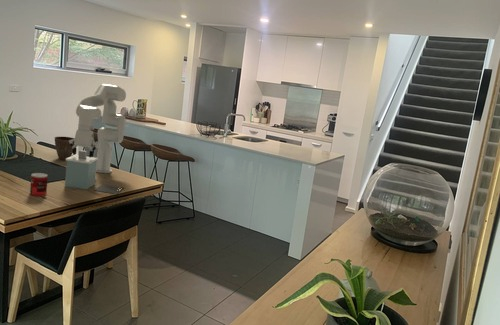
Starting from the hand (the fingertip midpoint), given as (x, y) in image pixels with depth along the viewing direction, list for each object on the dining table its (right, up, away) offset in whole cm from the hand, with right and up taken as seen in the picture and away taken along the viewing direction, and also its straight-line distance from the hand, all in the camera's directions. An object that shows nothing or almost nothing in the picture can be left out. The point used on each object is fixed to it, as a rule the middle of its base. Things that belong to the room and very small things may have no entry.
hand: (82, 155), depth 233 cm
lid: (-1, -3, +1) cm, 4 cm away
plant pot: (-40, -2, +59) cm, 71 cm away
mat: (+15, -21, +5) cm, 26 cm away
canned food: (-14, -22, -24) cm, 35 cm away
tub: (-3, -18, +3) cm, 19 cm away
